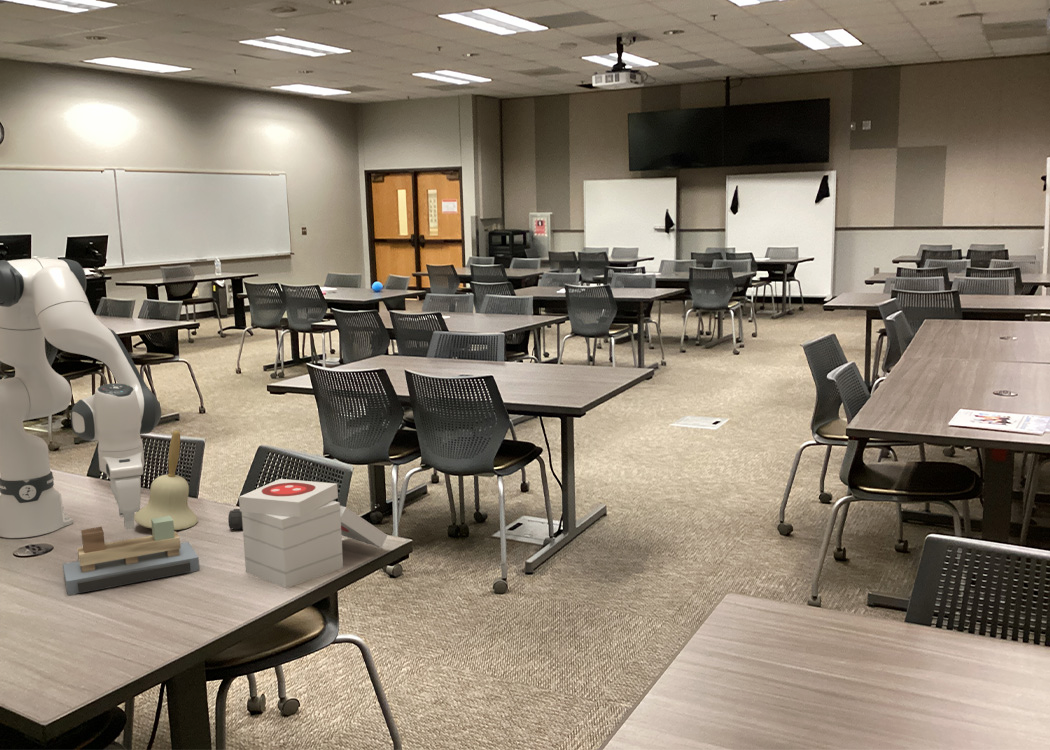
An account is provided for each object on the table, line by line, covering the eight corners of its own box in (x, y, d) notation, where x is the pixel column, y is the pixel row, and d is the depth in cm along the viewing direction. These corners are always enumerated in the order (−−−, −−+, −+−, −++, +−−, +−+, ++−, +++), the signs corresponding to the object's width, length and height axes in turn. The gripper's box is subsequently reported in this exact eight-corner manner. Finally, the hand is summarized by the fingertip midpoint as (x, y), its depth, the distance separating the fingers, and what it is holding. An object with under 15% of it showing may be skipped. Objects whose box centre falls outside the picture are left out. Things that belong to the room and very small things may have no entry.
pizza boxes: (393, 553, 209) (390, 476, 206) (282, 593, 186) (277, 508, 184) (341, 536, 221) (337, 464, 218) (231, 572, 199) (225, 492, 196)
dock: (64, 576, 198) (62, 563, 197) (189, 554, 211) (188, 541, 210) (68, 596, 187) (66, 583, 186) (200, 571, 199) (199, 558, 199)
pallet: (79, 565, 196) (77, 547, 195) (177, 548, 206) (175, 531, 205) (81, 573, 192) (79, 554, 191) (181, 555, 202) (179, 537, 201)
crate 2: (152, 536, 202) (151, 518, 202) (171, 532, 204) (170, 515, 204) (155, 541, 199) (153, 523, 198) (174, 537, 201) (173, 520, 200)
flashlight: (227, 533, 226) (225, 512, 225) (232, 526, 231) (231, 505, 230) (290, 530, 227) (288, 509, 226) (294, 523, 232) (292, 503, 231)
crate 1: (82, 547, 195) (81, 529, 195) (103, 544, 197) (101, 526, 197) (84, 553, 192) (82, 535, 191) (105, 549, 194) (103, 531, 193)
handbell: (146, 511, 240) (157, 419, 236) (204, 520, 241) (216, 428, 237) (123, 530, 224) (134, 432, 221) (185, 539, 225) (197, 442, 222)
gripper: (100, 451, 203) (105, 511, 205) (110, 472, 185) (116, 538, 187) (131, 448, 206) (136, 507, 208) (144, 468, 188) (149, 532, 190)
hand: (126, 522), depth 197 cm, fingers open, 8 cm apart
